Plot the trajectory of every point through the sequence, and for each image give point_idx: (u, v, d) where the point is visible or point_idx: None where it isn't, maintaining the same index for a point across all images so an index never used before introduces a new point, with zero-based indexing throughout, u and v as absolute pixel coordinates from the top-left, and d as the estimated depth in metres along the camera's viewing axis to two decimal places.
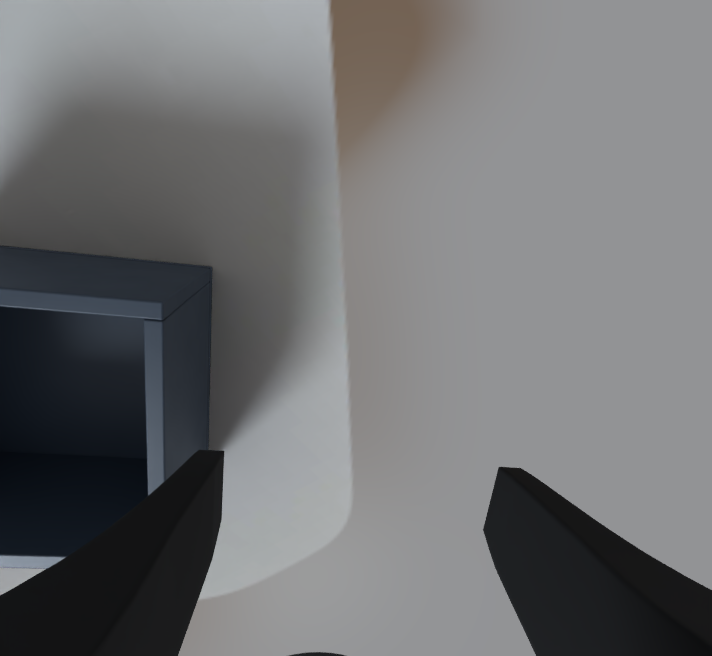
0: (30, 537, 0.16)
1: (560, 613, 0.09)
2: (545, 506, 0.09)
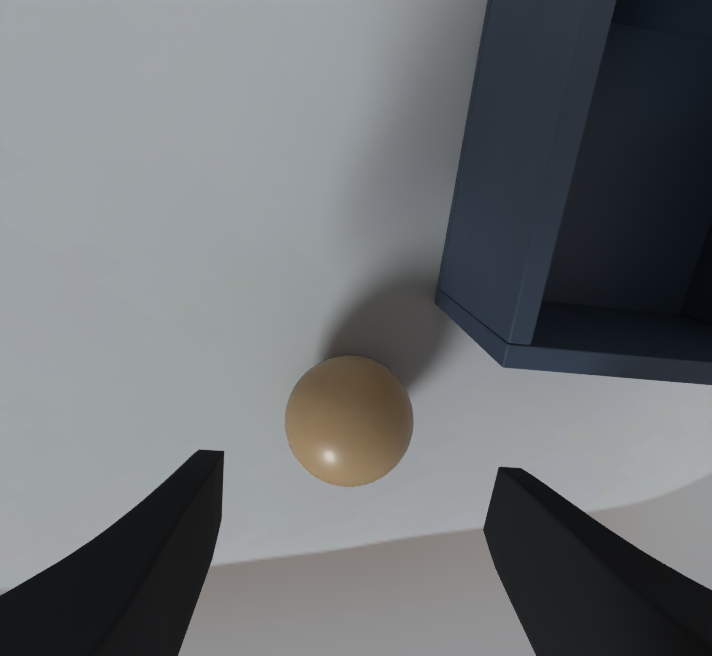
0: (681, 350, 0.11)
1: (560, 613, 0.09)
2: (545, 506, 0.09)
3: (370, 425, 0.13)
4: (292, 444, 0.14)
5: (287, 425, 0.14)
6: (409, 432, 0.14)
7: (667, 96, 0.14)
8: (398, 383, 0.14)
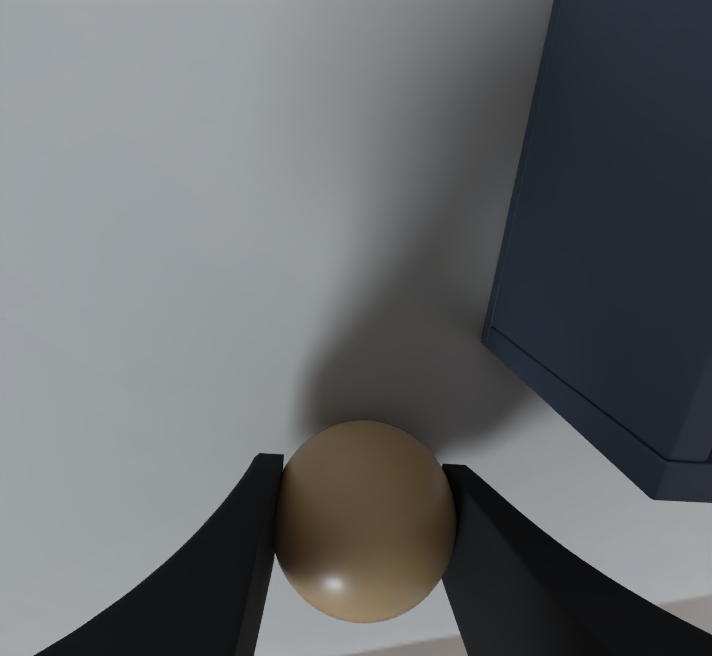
0: None
1: (487, 612, 0.08)
2: (477, 503, 0.09)
3: (398, 546, 0.08)
4: (280, 562, 0.09)
5: None
6: (453, 542, 0.10)
7: None
8: (435, 467, 0.10)
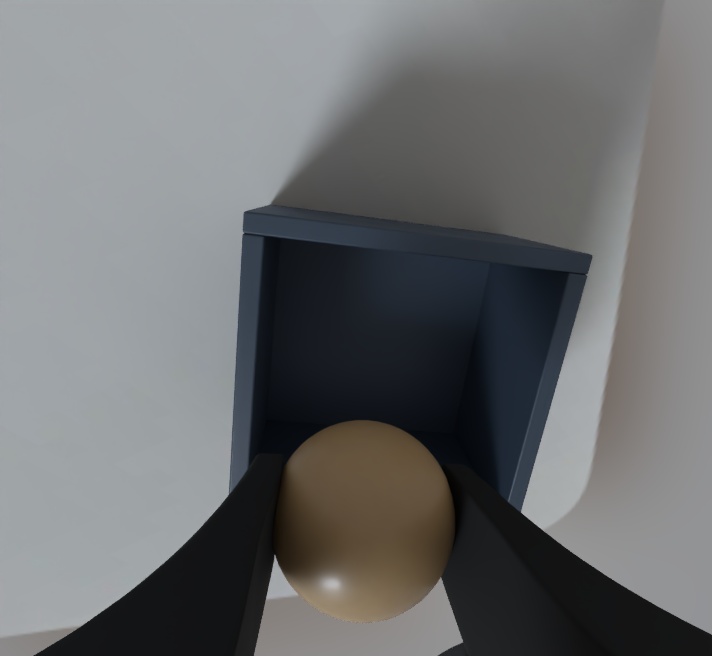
0: None
1: (487, 612, 0.08)
2: (477, 503, 0.09)
3: (397, 546, 0.08)
4: (279, 561, 0.09)
5: None
6: (452, 542, 0.10)
7: (416, 280, 0.19)
8: (435, 467, 0.10)
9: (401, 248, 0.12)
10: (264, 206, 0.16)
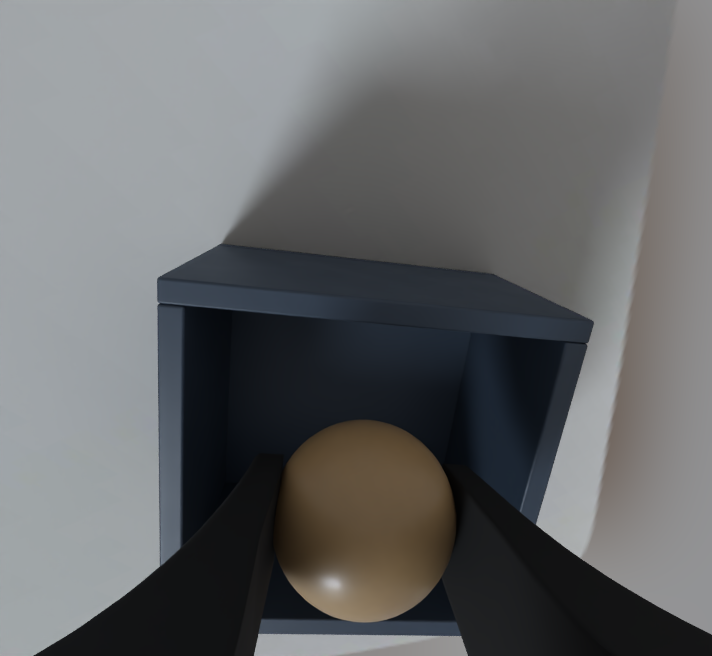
0: None
1: (487, 612, 0.08)
2: (477, 503, 0.09)
3: (398, 545, 0.08)
4: (280, 561, 0.09)
5: None
6: (453, 541, 0.10)
7: (392, 326, 0.17)
8: (435, 466, 0.10)
9: (357, 318, 0.10)
10: (206, 252, 0.13)
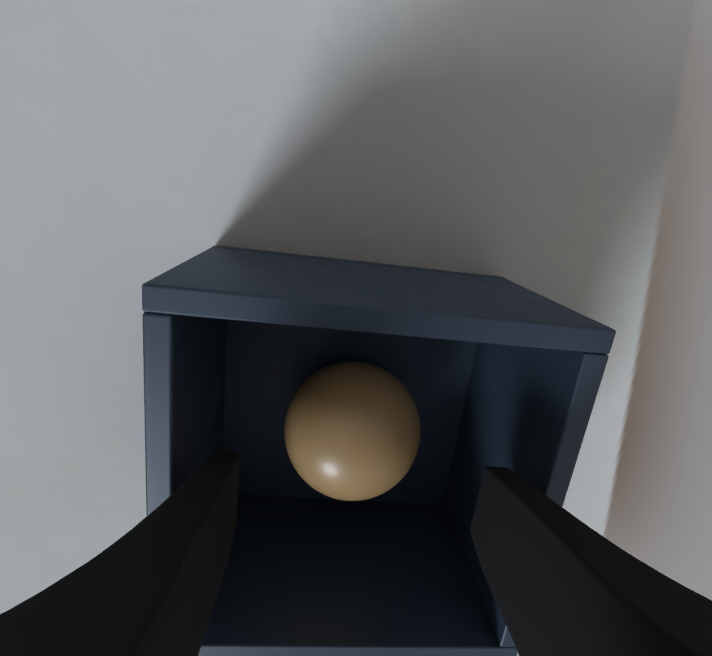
0: (343, 618, 0.13)
1: (542, 613, 0.09)
2: (528, 505, 0.09)
3: (375, 437, 0.12)
4: (292, 456, 0.13)
5: (286, 436, 0.13)
6: (416, 443, 0.13)
7: None
8: (404, 391, 0.14)
9: (360, 327, 0.09)
10: (199, 254, 0.13)
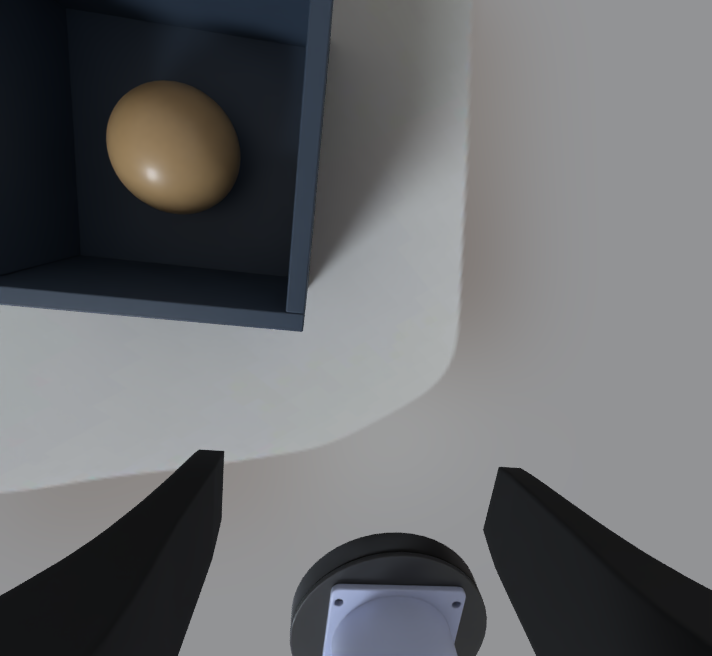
0: (148, 292, 0.14)
1: (560, 613, 0.09)
2: (545, 506, 0.09)
3: (172, 115, 0.14)
4: (109, 155, 0.14)
5: (106, 140, 0.15)
6: (224, 146, 0.15)
7: (230, 86, 0.17)
8: (217, 105, 0.15)
9: None
10: None
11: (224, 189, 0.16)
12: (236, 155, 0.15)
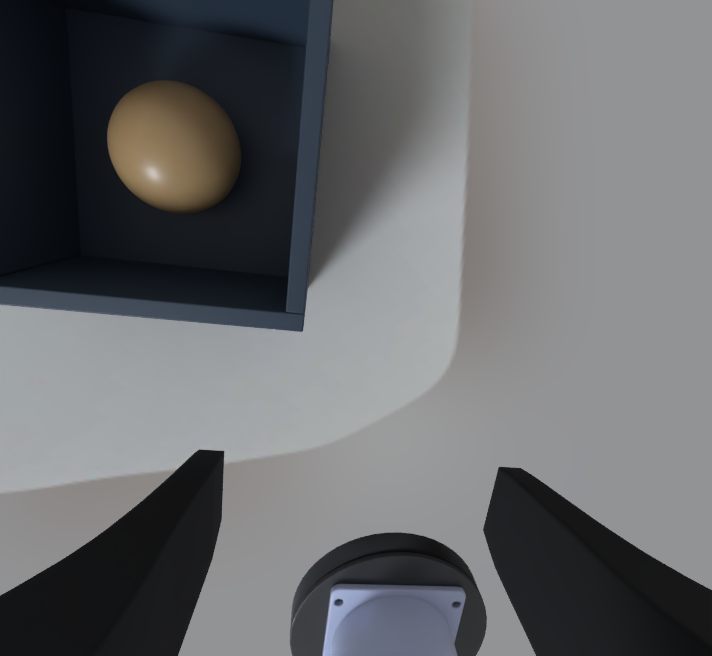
0: (148, 292, 0.14)
1: (560, 613, 0.09)
2: (545, 506, 0.09)
3: (174, 114, 0.14)
4: (110, 154, 0.14)
5: (107, 140, 0.15)
6: (226, 146, 0.15)
7: (230, 86, 0.17)
8: (218, 105, 0.15)
9: None
10: None
11: (225, 189, 0.16)
12: (237, 155, 0.15)
